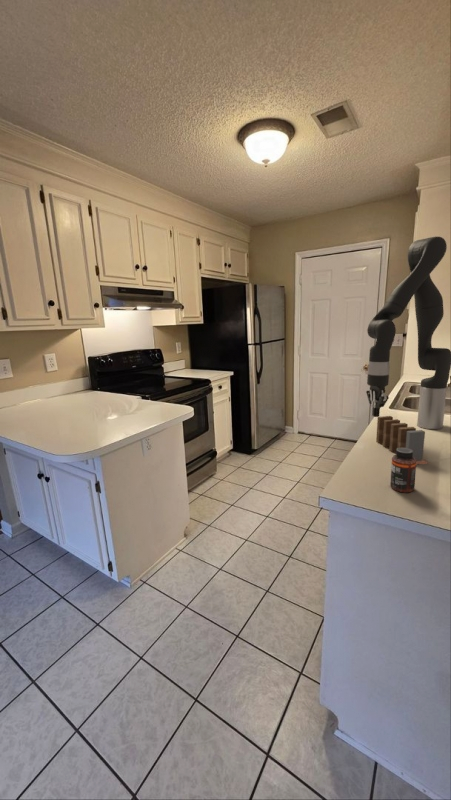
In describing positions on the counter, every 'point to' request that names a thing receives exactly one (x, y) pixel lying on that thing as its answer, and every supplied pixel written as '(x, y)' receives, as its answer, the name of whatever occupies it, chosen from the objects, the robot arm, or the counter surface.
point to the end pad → (421, 462)
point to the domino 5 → (416, 443)
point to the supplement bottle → (403, 470)
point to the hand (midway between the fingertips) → (375, 416)
